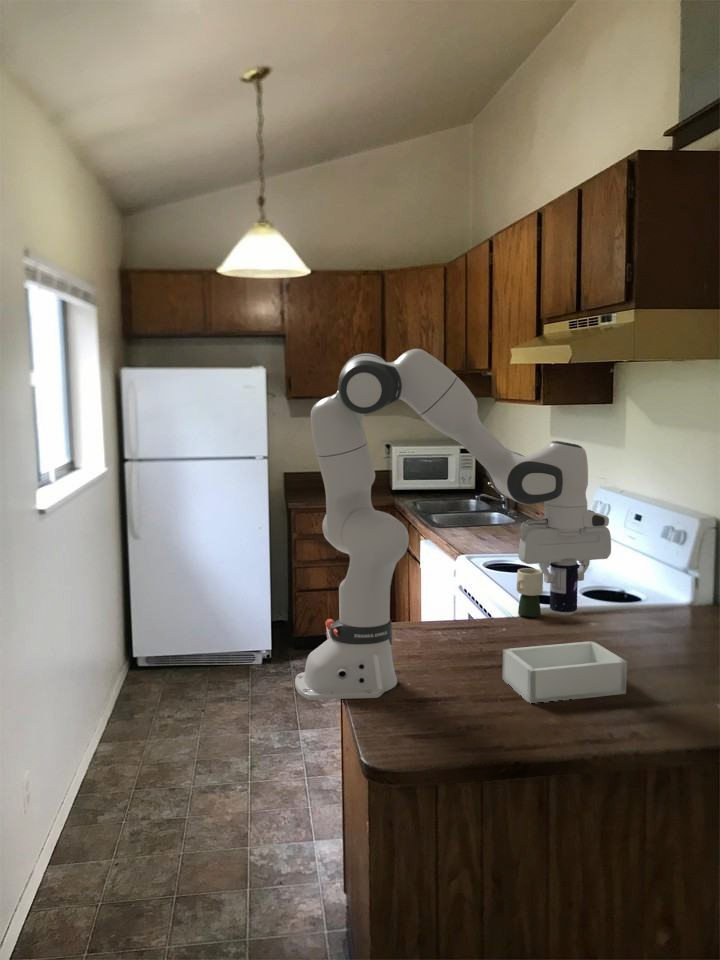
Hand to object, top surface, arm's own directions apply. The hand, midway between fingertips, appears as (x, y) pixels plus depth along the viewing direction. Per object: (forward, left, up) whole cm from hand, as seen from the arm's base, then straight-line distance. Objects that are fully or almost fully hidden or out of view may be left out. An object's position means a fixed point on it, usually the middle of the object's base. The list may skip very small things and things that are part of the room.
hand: (564, 581), depth 170 cm
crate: (0, -1, -23) cm, 23 cm away
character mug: (+16, +50, -23) cm, 57 cm away
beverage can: (0, 0, -7) cm, 7 cm away
